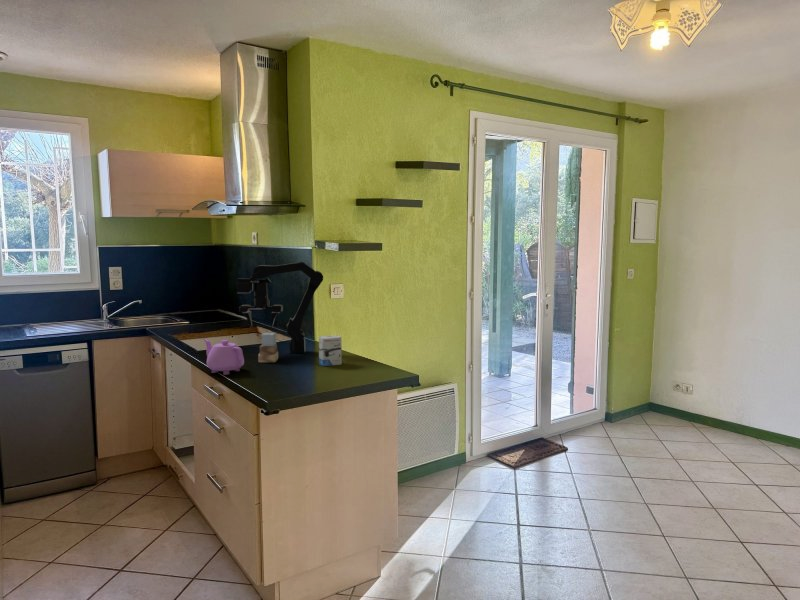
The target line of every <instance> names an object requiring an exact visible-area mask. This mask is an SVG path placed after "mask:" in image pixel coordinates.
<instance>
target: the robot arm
mask: <svg viewBox="0 0 800 600" xmlns="http://www.w3.org/2000/svg"><path fill="white" fill-rule="evenodd" d="M299 271H300V272H302V273H303V274H304V275H306V276H307V277H309V280H308V285H307V287H306V288H307V289H306V291H305V293H304V294H303V298H302V299H301V302H300V305H299V307H298V309H297V311H296V313H295V314H294V316H293V318H292V317H290V318H289V321H288V323H287V324H286V328H287V329H286V333H287V335H288V336H289V337H291V338H290V341H289V352H290V354H305V353H306V351H307V349H306V338H305V332H304V331H303V330H302V329H301V327H302V323H303V318H304V317H305V315H306V313H307V310H308V309H309V308H308V307H309V306H310V303H311V301H312V299H313V297H314V295H315V292H316V291H317V289H318V288H319V287H320V285H321V284H322V282H323V281H324V275H323V273H322V272H321V271H319V270H315V269H314V268H312V267H310V266H309V264H306V262H305V261H299V262H290V263H286V264H278V265H269V264H259V265H257V266H256V267H254V268H253V274H252V275H251V276H250V278H242V277H239V278H238V277H237V281H236V293H237V294H251V292H253V291H254V296H253V298H254V299H253V304H254V306H251V304H242V305H239V306H238V312H239V313H242V315H244V316H245V318H246V320H247V321H248V324H249V326H250V328H253V318H252V317H253V316H252V311H272V312H271V318H270V321H271V322H270V323H271V324H270V325H271V326H270V327H271V328H273V326H274V323H275V321H276V317H277V315H279V314H280V313H282V312H283V311H284V305H283V304H273V305H271V304H270V303H271V300H270V299H269V297H268V284H272V281H271V280H270V279H269V277H270V276H273V275H276V274H284V273H289V272H290V273H291V272H299ZM264 278H266V279H264ZM258 279H259V280H258ZM256 280H258V281H256ZM270 305H271V306H270Z"/></svg>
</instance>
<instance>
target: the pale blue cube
mask: <svg viewBox="0 0 800 600" xmlns="http://www.w3.org/2000/svg"><path fill="white" fill-rule="evenodd" d="M275 344H277V333H276V332H270V331H269V332H267V331H266V332H263V333H261V345H262V346H274V345H275Z"/></svg>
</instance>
